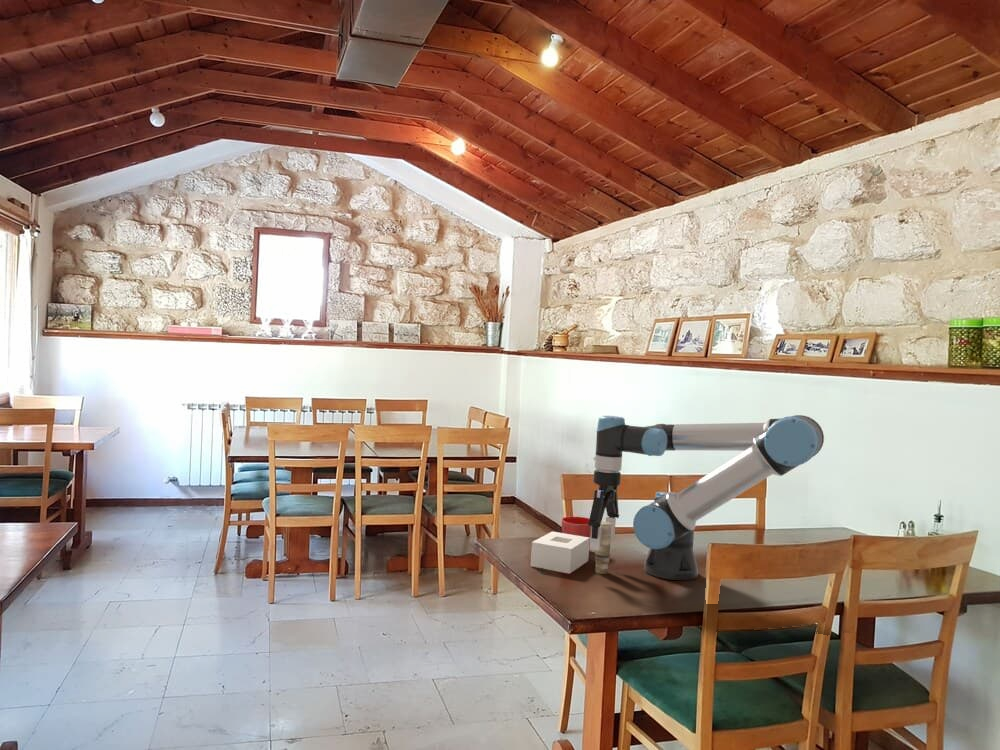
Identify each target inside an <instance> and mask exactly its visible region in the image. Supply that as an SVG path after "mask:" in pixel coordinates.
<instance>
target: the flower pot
mask: <svg viewBox="0 0 1000 750" xmlns="http://www.w3.org/2000/svg"><path fill="white" fill-rule="evenodd" d="M589 519H590V517H584V516H565V517H562V518H561V531H562V532H561V533H565V534H571V535H577V536H583V537H589V538H590V535H591V526H588V522H589ZM589 550H591V549H590V541H589Z"/></svg>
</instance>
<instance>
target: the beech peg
mask: <svg viewBox="0 0 1000 750" xmlns="http://www.w3.org/2000/svg"><path fill="white" fill-rule="evenodd" d="M611 526H612V524H611V523H608V522H606V521H601V525H600V527H601V539H600V550H599V551H598V550H595V552H594V563H595V569H594V571H595V573H596V574H600V575H606V574H608V572H609V571H608V570H609V569H608V567H609V563H610V557H611V542H612V540H611Z"/></svg>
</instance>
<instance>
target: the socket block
mask: <svg viewBox="0 0 1000 750" xmlns="http://www.w3.org/2000/svg"><path fill="white" fill-rule="evenodd" d="M589 541H590V538H589V537H583V536H577V535H571V534H565V533H562V532H558V531H550V532H548V533H545V535H543V536H541V537H539V538H537V539H535V540H533V541H531V550H530V551H531V552H530V566H529V567H534V568H538V569H542V568H543V570H548V571H554V572H559V573H564V574H571V573H573V572H575V571H576V570H577V569H579V568H580V567H581V566H583V565H584V564H586V563H587V562H589V555H590V554H589V553H590V549H589Z"/></svg>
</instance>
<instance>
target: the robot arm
mask: <svg viewBox="0 0 1000 750" xmlns="http://www.w3.org/2000/svg"><path fill="white" fill-rule="evenodd" d="M625 420H626V419H625V418H624V417H623V416H618V415H617V416H616V415H602V416H600V417H599V418H598V422H597V428H596V442H595V443H596V444H595V455H594V457H593V460H594V468H595V469H594V471H593V481H592V482H593V483H594V484H595V485H598V486H599V487H598V489H595V490H594V492H593V493H594V494H593V495H594V496H593V501H592V505H591V510H590V514H589V518H590V519H589V522H588V526H591V535H590V549H589V550H594V551H596V550H598V551H599V550H600V539H601V527H600V525H601V522H603V521H602V520H603V518H604V513H605V511H606V515H607V516H606V517H605V522H608V523H611V524H612V526H611V542H612V541H613V542H614V541H615V536H616V535H615V534H616V533H615V532H616V521H617V520H616V519H619V518H620V514H619V512H620V511H619V502H618V501H619V499H618V486H620V485H621V477H622V474H621V472H620V471H622V463H623V460H622V459H623V452H625V453H632V454H638V455H646V456H649V457H652V456H653V457H654V456H655V457H660V456H663V455H664V453H666V451H670V452H671V451H673V452H674V451H718V452H719V451H720V452H721V451H726V452H729V451H731V452H732V451H739V452H740V451H742V452H740V453H738V454H737V455H735V456H733V457H732V458H730V459H729V460H727V461H726V462H724V463H723V464H721V465H720V466H718V467H717V468H715V469H713V470H712V471H710V472H709V473H708V474H706V475H703V477H701V478H699V479H698V480H696V481H695V482H693V483H692V484H690V485H689V486H686V488H683V489H682V490H681V491H679V492H674V491H669V492H665V491H658V492H655V495H654V499H653V500H654V501H653V502H651V503H649V504H647V505H644V506H642V507H641V508H640V509H639V510H638V511H637V512H636V514H635V515H634V517H633V521H632V523H633V524H632V528H633V532H634V535H635V537H636V538H637V540H638V542H640V544H642V545H643V546H645V547H646V548H649V550H648V553H647V555H646V557H645V559H644V563H643V564H644V565H643V571H644V572H645V573H646V574H649V575H651V576H653V577H656V578H660V579H664V580H665V579H666V580H673V581H689V580H690V581H691V580H694V579H696V578H698V575H699V574H698V572H699V569H698V563H697V560H696V555H695V551H694V538H695V529H696V525H697V523H696V522H697V521H698V520H700V519H702V518H703V517H706V516H707V515H708V514H710V513H712V512H713V511H714V510H717V509H718V508H720V507H721V506H723V505H724V504H726V503H728V502H730V501H731V500H732V499H735V498H736V497H738V496H740V495H741V494H743V493H744V492H746V491H747V490H749V489H750V488H752V487H754V486H755V485H758V484H759V483H761V482H763V481H764V480H766V479H767V478H769V477H770V476H772V475H775V476H777V477H779V476H780V477H782V476H784V475H786V474H787V473H789V472H791V471H792V470H794V469H795V468H797V467H799V466H801V465H804V464H806V463H807V462H809V461H810V460H811V459H812V458H814V457H815V456H816V455H817V454H819V452H820V451H821V449H822V447H823V445H824V442H825V441H824V440H825V436H824V431H823V429H822V427H821V425H820V424H819V423H818V422H817V421H816V420H814V419H813V417H812V418H811V417H810V416H807V415H799V414H797V415H796V414H795V415H792V416H791V415H790V416H785V417H782V418H781V417H780V418H769V419H768V420H767V421H766V422H734V423H733V422H732V423H730V422H729V423H727V422H726V423H725V422H724V423H683V424H682V423H681V424H679V423H677V424H676V423H675V424H665V423H657V424H654V425H647V426H638V425H629V424H626V422H625Z"/></svg>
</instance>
